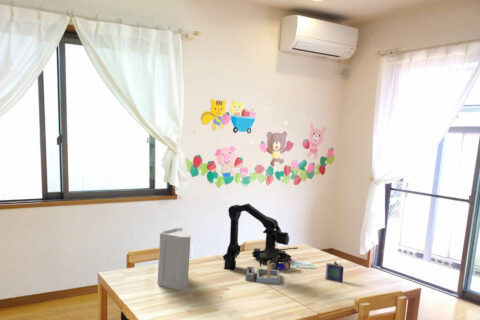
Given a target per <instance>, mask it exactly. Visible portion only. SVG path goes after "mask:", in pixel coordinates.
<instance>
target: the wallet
mask: <svg viewBox="0 0 480 320" xmlns="http://www.w3.org/2000/svg"><path fill="white" fill-rule="evenodd" d="M343 278H344V265H341V264H339V263H338V262H337V260H334V261H333V263H331V262H327V263H326V268H325V278H324V279H325V280H327V281H332V282H336V283H343V281H344V279H343Z"/></svg>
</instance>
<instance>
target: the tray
mask: <svg viewBox="0 0 480 320" xmlns="http://www.w3.org/2000/svg"><path fill="white" fill-rule="evenodd" d="M260 275H267V268H261V267H260V268H256V283H259V284H272V285H280V284H281V276H280V269H277V270H275V269H272V268H270V272H269V276H270V275H271V276H276V277H269V278H267V276H265V277H263V276H260Z"/></svg>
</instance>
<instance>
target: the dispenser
mask: <svg viewBox="0 0 480 320" xmlns="http://www.w3.org/2000/svg"><path fill="white" fill-rule="evenodd" d="M244 279H245V281H247V282H255V267H254V266H247V267H246V272H245V278H244Z"/></svg>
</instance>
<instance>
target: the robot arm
mask: <svg viewBox="0 0 480 320" xmlns="http://www.w3.org/2000/svg"><path fill="white" fill-rule="evenodd" d="M242 212H246V213H248V214H249V215H250V216H252V217H253V218H255V219H256V220H257V221H259V222H260V223H261V224H262V226H263V228H265V229H264V231H262V233H263V234H265V245H264V246H265V247H264V249H265V251H262V250H261V248H254V249H253V251H254V254H252V257H253V256H256V257H257V258H258V259H257V260H258V262H259V266H260V268H262V262H261V254H264V255H266V258H274V256H278V257H277V263H276V269H277V267H278V265H279V264H280V263H279V262H280V261H281V260H283V258H284V259H285V258H286V250H281V251H280V250H279V252H278V250H277V249H275V248H276V243H277V244H279V245H284V246H288V245H289V243H290V235H289V232H283V231H282V229H281V228H280V225H279V222H278V221H277V219H274V217H269V216H268V215H265V214H264V213H262V212H261V211H259V209H256V207H255V206H253V205H251V204H250V203H245V204H241V205H239V204H234V205H231V206H229V207H228V216H229V219H230V228H229V229H230V230H229V231H230V235H229V244H228V247H227V250H226V253H225V254H223V256H222V259H223V260H224V267H223V270H227V271H229V270H230V271H235V270H236V268H237V260H236V259H237V258H238V256H239V255H240V254H241V252H242V250H241V249H242V245H239V242H238V241H239V219H240V217H241V214H242ZM277 270H278V269H277Z"/></svg>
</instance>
